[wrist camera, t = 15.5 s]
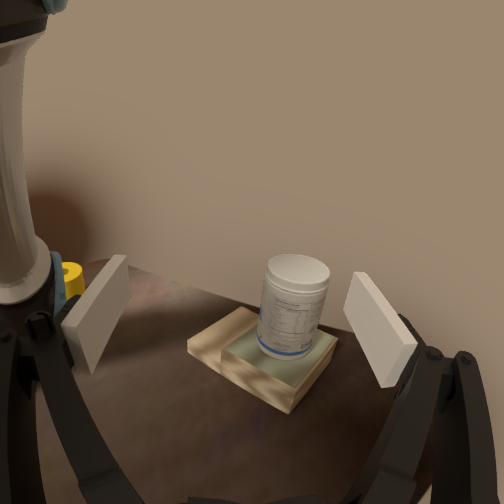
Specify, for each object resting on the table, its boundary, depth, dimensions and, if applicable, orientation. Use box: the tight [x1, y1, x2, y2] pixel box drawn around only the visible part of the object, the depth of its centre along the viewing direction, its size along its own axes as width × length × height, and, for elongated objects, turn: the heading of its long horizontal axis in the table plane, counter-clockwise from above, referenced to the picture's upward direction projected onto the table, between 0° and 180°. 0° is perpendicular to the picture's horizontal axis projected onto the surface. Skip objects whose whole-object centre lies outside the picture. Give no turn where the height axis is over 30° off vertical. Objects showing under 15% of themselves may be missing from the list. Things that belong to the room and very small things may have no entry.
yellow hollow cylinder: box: [62, 262, 86, 300], centre depth 56 cm, size 10×10×9 cm
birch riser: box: [187, 306, 338, 415], centre depth 51 cm, size 22×16×6 cm
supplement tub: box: [256, 254, 330, 360], centre depth 45 cm, size 10×10×15 cm
